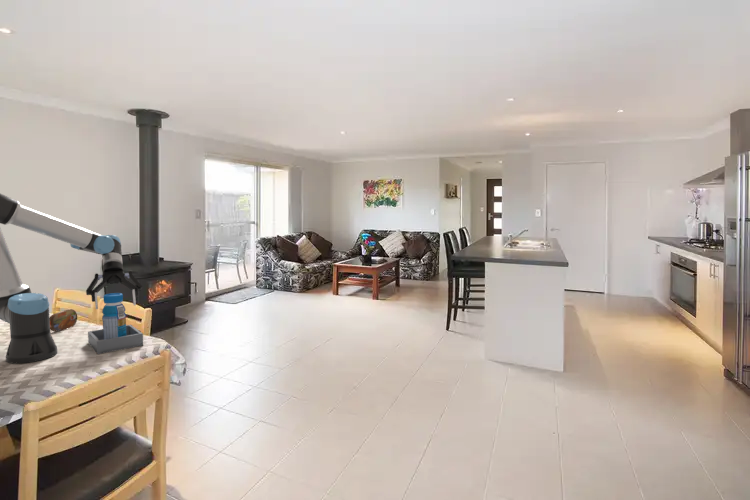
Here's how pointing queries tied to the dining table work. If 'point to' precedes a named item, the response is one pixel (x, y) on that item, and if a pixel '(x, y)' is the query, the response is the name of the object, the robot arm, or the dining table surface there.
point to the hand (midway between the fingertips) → (116, 305)
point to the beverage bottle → (114, 316)
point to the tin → (63, 320)
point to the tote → (115, 340)
